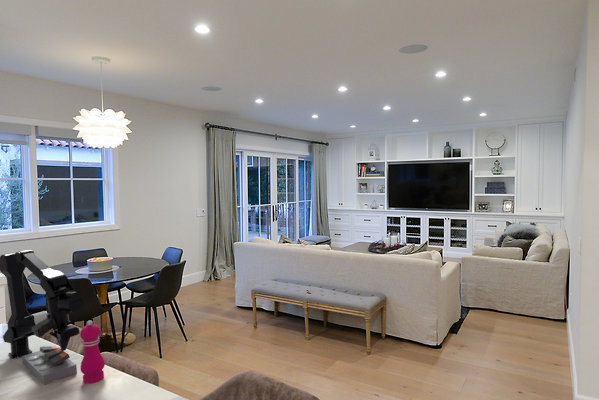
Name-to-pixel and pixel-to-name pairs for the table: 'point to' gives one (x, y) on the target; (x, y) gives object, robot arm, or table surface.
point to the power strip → (47, 367)
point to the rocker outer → (59, 358)
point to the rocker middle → (53, 353)
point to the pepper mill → (91, 354)
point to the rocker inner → (48, 349)
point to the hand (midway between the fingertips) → (63, 350)
